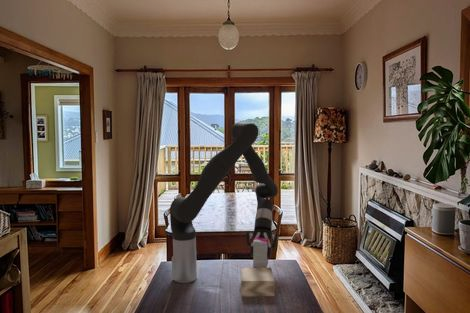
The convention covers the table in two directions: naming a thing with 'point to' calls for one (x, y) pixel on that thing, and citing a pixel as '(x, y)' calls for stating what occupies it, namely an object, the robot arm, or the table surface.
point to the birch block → (257, 282)
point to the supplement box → (260, 253)
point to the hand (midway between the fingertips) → (260, 256)
